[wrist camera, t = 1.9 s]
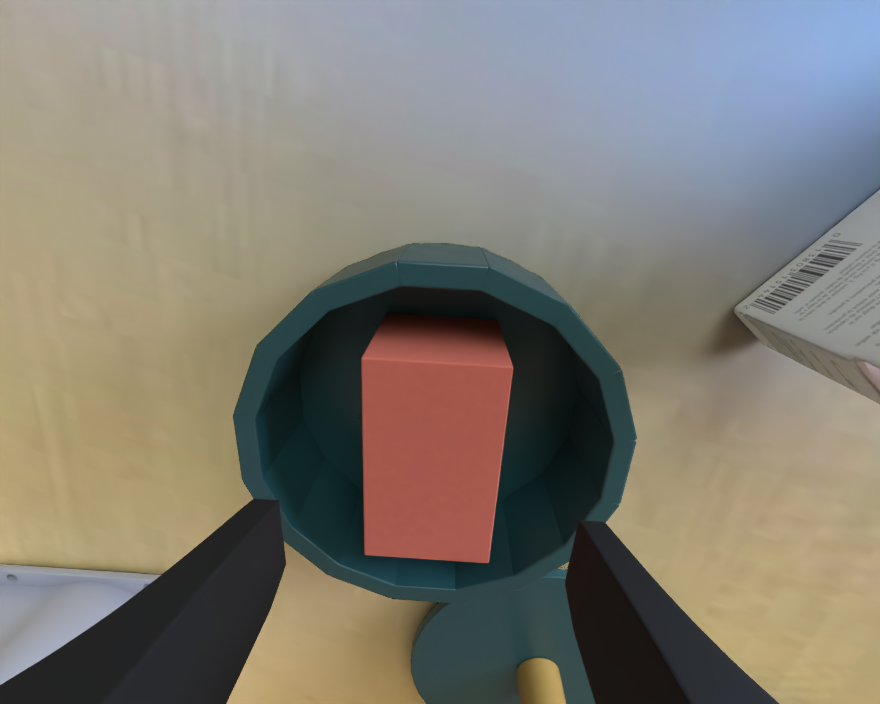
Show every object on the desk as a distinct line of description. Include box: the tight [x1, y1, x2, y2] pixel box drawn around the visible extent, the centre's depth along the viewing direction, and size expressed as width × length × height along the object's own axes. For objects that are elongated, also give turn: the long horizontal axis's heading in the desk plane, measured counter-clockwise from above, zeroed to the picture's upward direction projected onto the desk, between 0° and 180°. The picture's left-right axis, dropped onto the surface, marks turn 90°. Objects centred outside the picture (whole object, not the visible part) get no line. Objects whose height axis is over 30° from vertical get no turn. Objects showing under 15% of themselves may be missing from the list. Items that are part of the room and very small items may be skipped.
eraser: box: [361, 313, 513, 563], centre depth 15 cm, size 7×4×4 cm, turn 177°
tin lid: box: [411, 569, 595, 704], centre depth 20 cm, size 13×13×5 cm
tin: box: [233, 243, 637, 603], centre depth 15 cm, size 12×12×4 cm
